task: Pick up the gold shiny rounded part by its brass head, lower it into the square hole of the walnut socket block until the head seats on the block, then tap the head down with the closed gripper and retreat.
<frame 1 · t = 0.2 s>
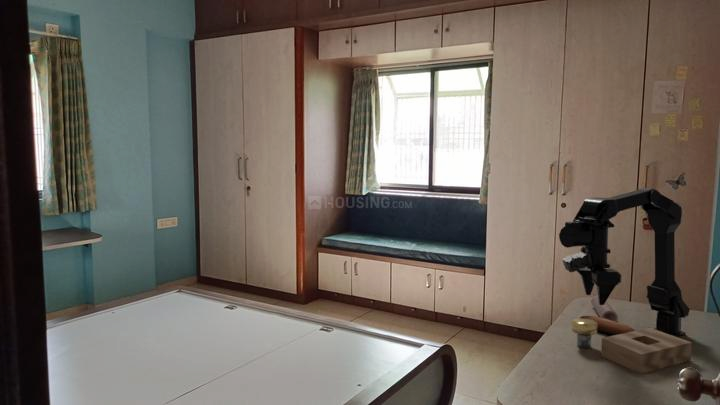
hand: (594, 299, 140), 14 cm above the table, fingers open, 9 cm apart
gold shiny rounded part: (583, 346, 143), on the table
sunglasses case: (611, 333, 154), on the table
socket block: (645, 358, 134), on the table
pale lilac cylinder: (603, 316, 169), on the table
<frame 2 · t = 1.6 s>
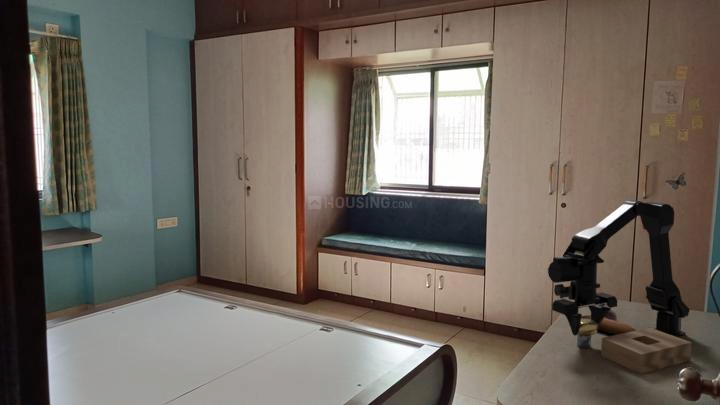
hand: (584, 333, 143), 4 cm above the table, fingers closed on gold shiny rounded part, 7 cm apart
gold shiny rounded part: (583, 346, 143), on the table, touching gripper
everything else where it was.
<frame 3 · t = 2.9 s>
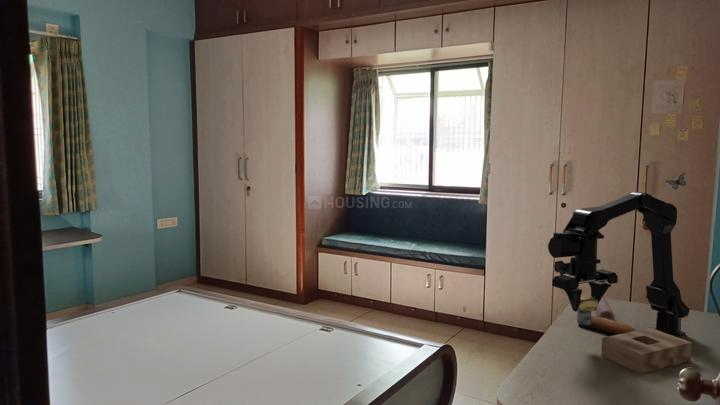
hand: (584, 309, 142), 11 cm above the table, fingers closed on gold shiny rounded part, 7 cm apart
gold shiny rounded part: (584, 322, 142), point 7 cm above the table, touching gripper
everything else where it was.
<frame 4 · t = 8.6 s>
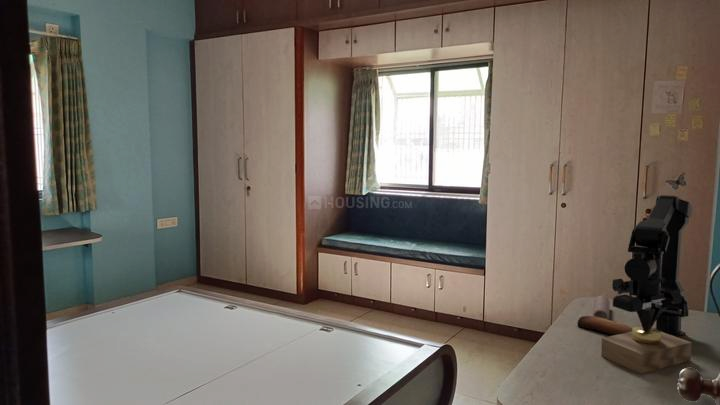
hand: (646, 331, 133), 7 cm above the table, fingers closed, pressing on gold shiny rounded part
gold shiny rounded part: (645, 356, 134), resting in socket block, touching gripper
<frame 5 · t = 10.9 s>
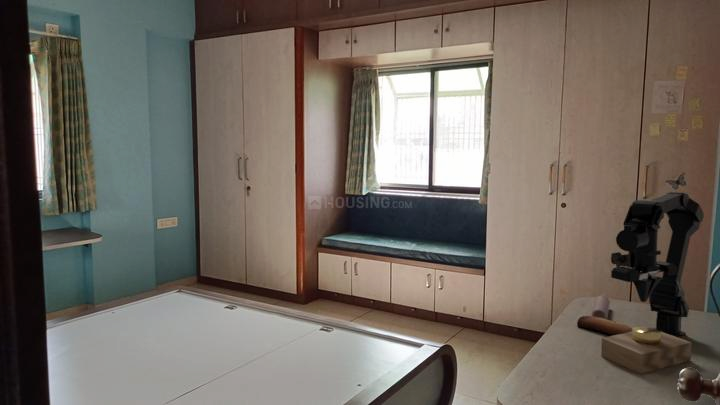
hand: (643, 301, 140), 13 cm above the table, fingers closed
gold shiny rounded part: (645, 356, 134), resting in socket block
at the end: gold shiny rounded part 0.0 cm off-centre on the socket block, point 0.5 cm above the socket block's base; gold shiny rounded part tilted 0°; the gripper is holding nothing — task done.
